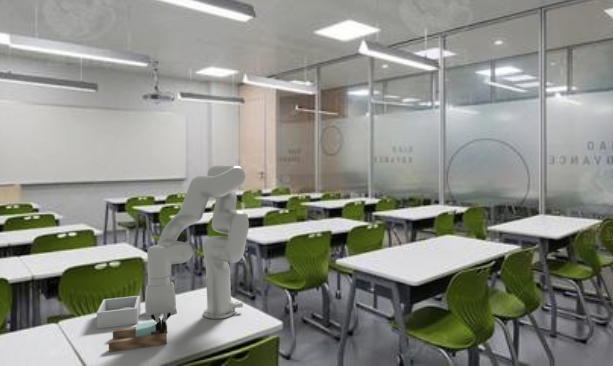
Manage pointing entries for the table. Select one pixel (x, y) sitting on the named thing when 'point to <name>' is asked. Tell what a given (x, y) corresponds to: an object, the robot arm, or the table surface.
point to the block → (145, 329)
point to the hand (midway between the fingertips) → (161, 331)
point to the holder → (118, 312)
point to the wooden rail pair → (135, 339)
